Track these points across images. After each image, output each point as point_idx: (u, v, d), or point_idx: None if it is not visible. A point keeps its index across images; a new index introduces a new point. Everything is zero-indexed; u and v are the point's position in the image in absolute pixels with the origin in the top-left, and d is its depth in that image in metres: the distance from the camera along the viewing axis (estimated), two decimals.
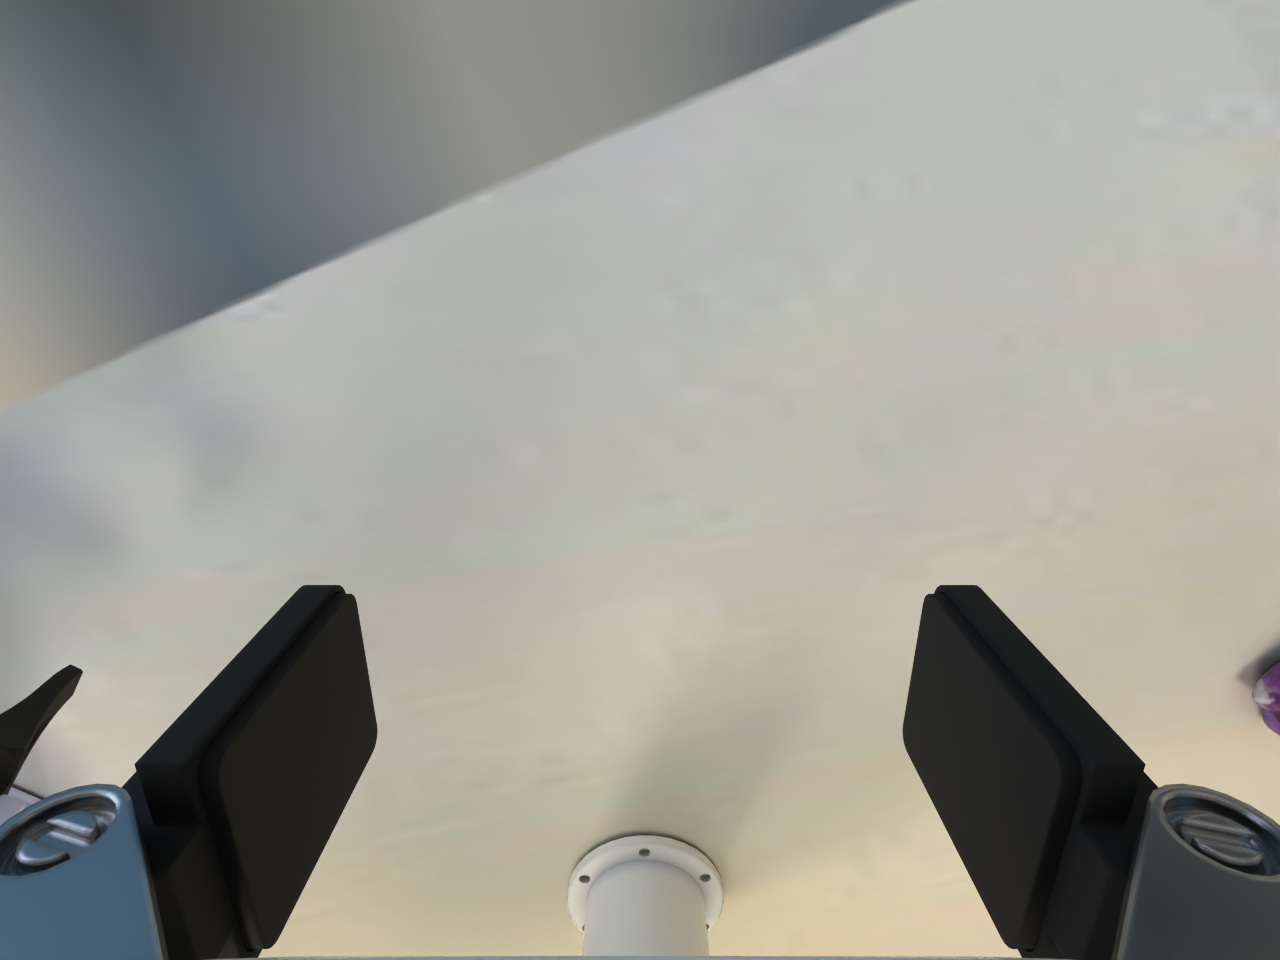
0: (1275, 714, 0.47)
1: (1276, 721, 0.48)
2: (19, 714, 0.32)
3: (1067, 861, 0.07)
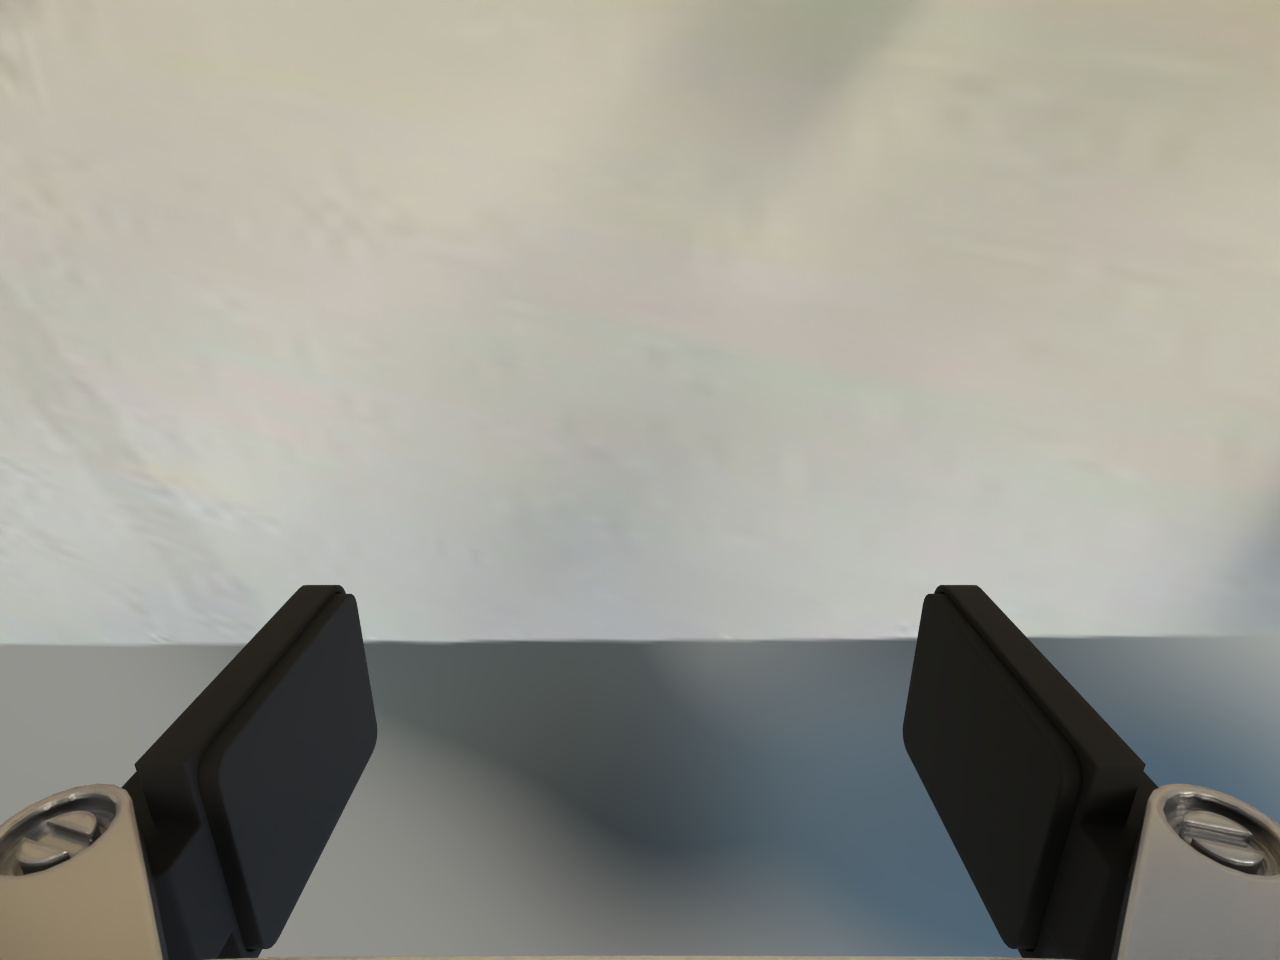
0: None
1: None
2: None
3: (1066, 862, 0.07)
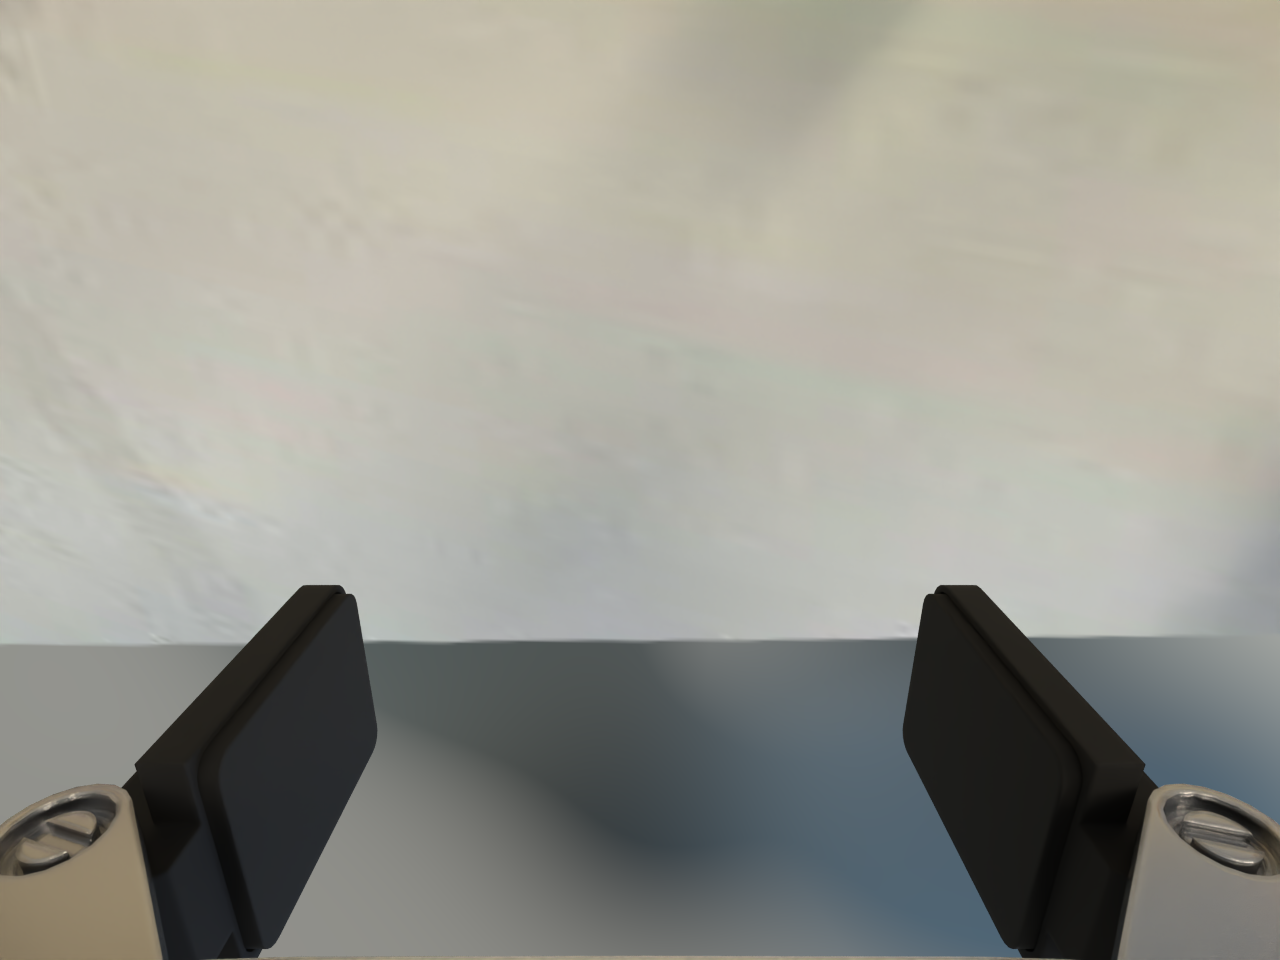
0: None
1: None
2: None
3: (1066, 862, 0.07)
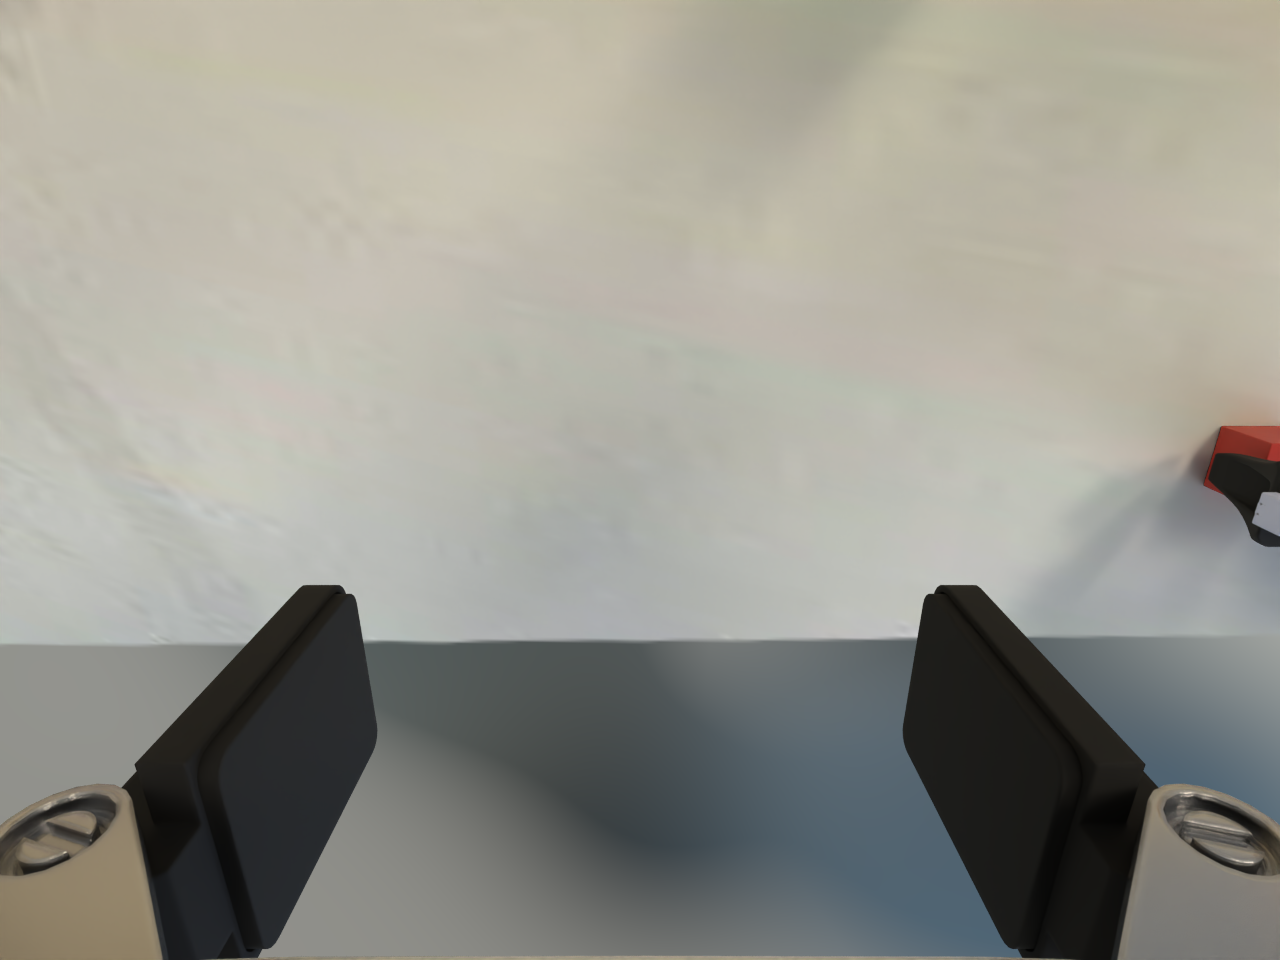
0: None
1: None
2: None
3: (1066, 862, 0.07)
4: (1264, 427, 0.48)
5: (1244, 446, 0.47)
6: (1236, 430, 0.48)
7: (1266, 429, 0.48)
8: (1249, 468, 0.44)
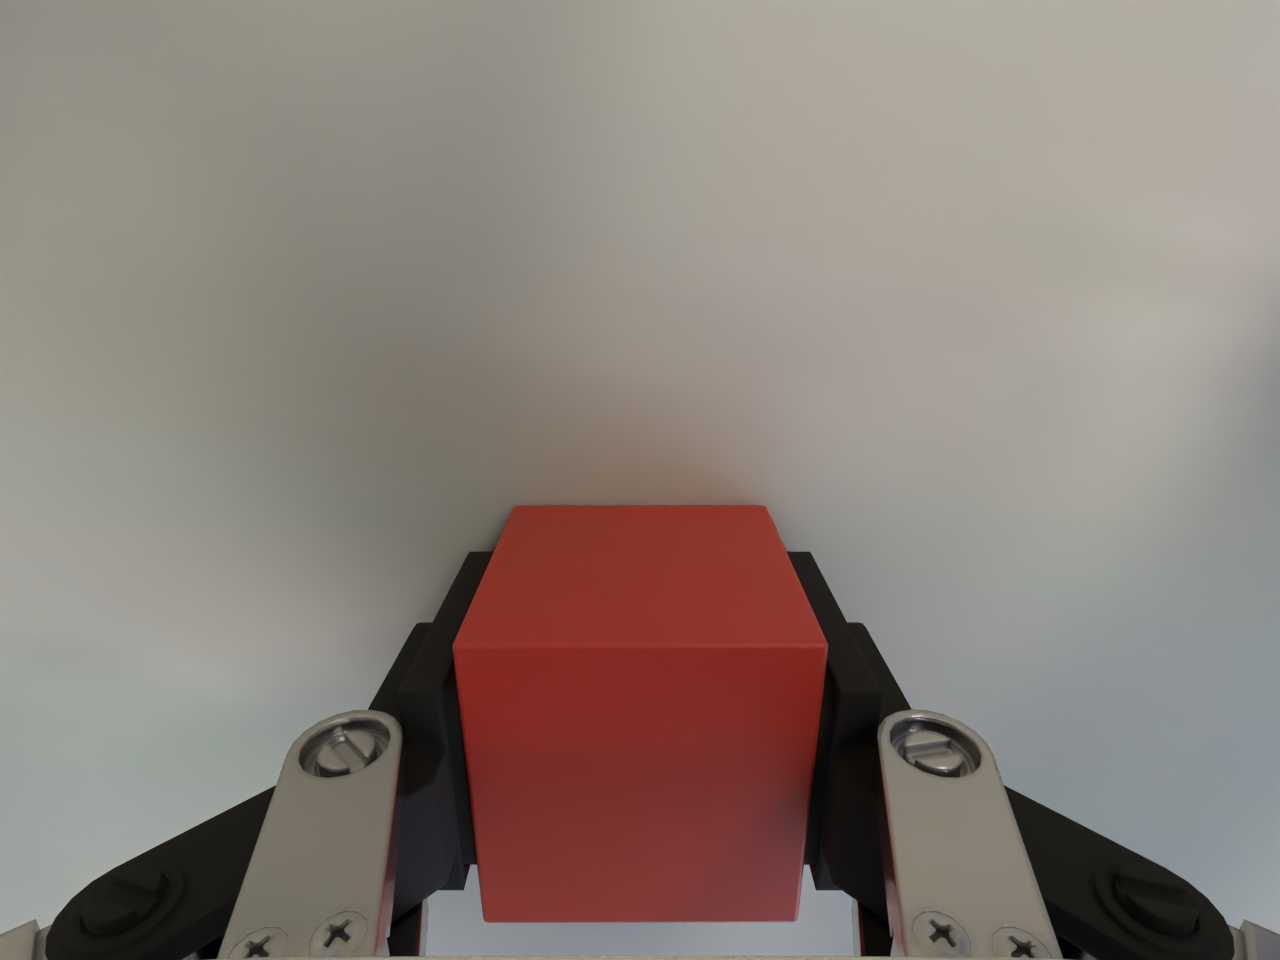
0: None
1: None
2: None
3: (829, 781, 0.09)
4: (670, 514, 0.11)
5: None
6: (511, 532, 0.11)
7: (657, 526, 0.11)
8: None
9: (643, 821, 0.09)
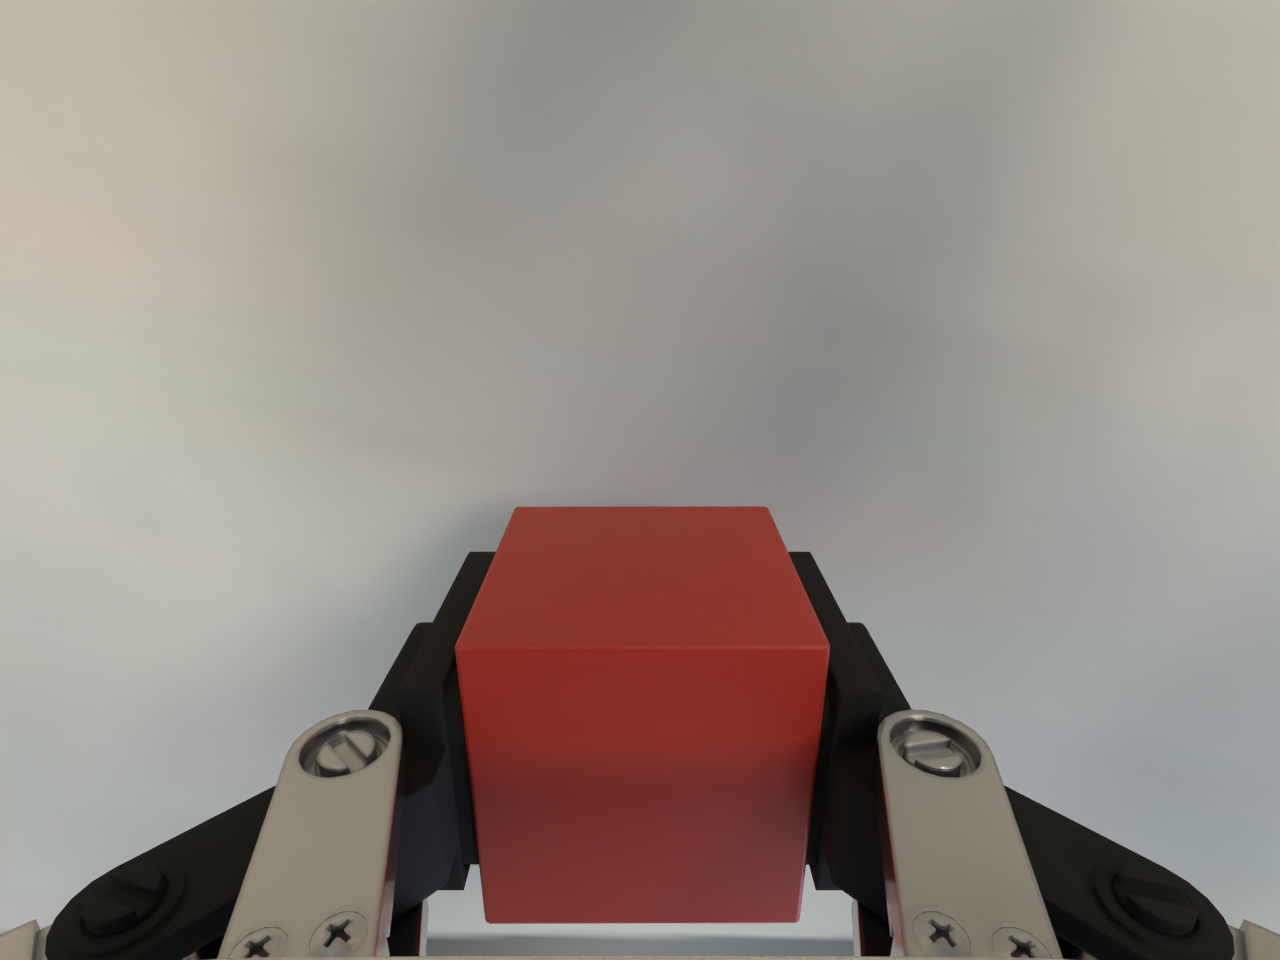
0: None
1: None
2: None
3: (829, 781, 0.09)
4: (671, 515, 0.11)
5: None
6: (513, 533, 0.11)
7: (659, 527, 0.11)
8: None
9: (646, 822, 0.09)
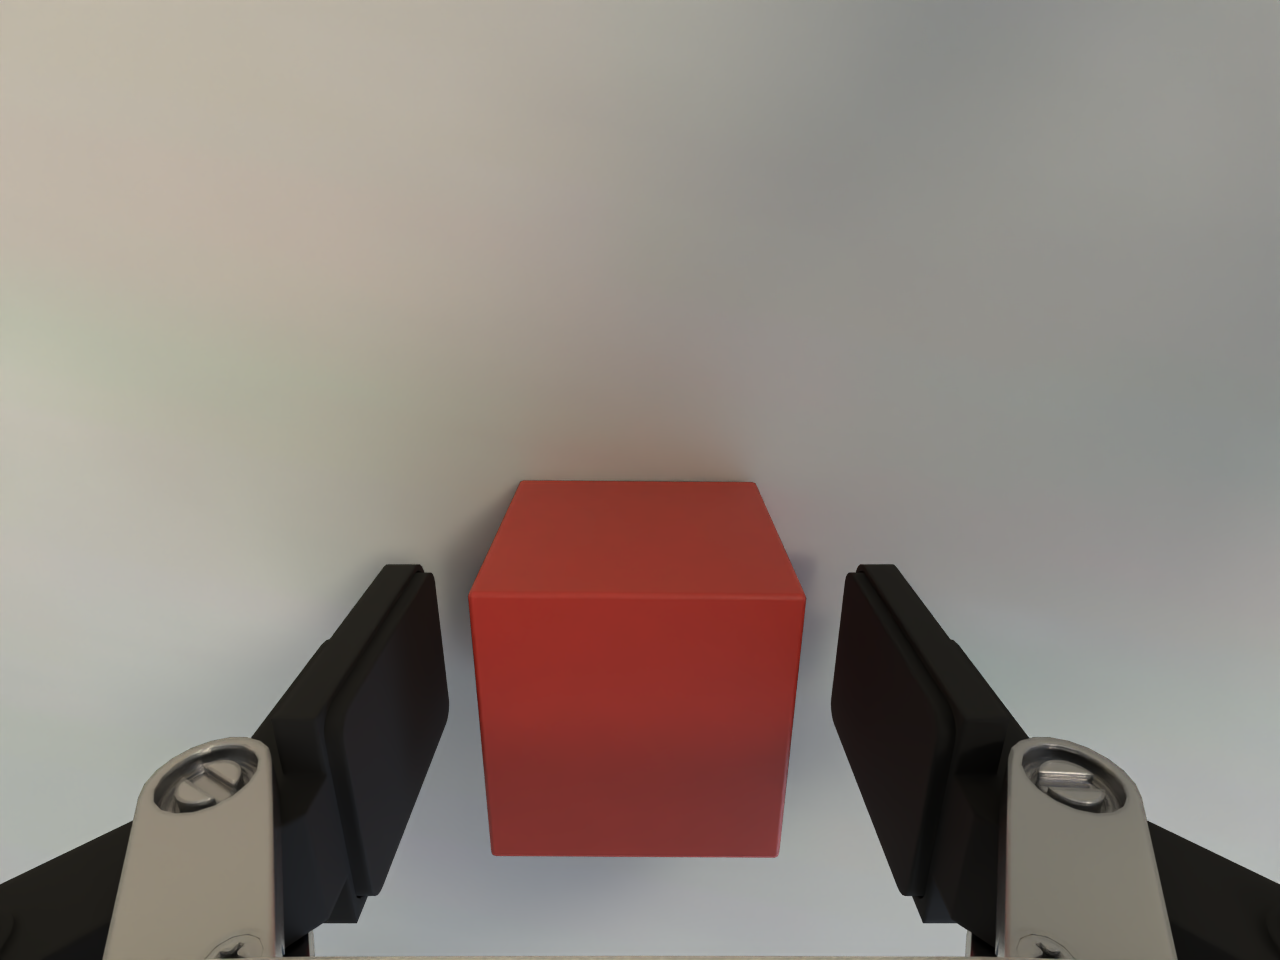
0: None
1: None
2: None
3: (945, 811, 0.08)
4: (666, 488, 0.12)
5: None
6: (519, 503, 0.12)
7: (654, 498, 0.12)
8: None
9: (638, 760, 0.10)
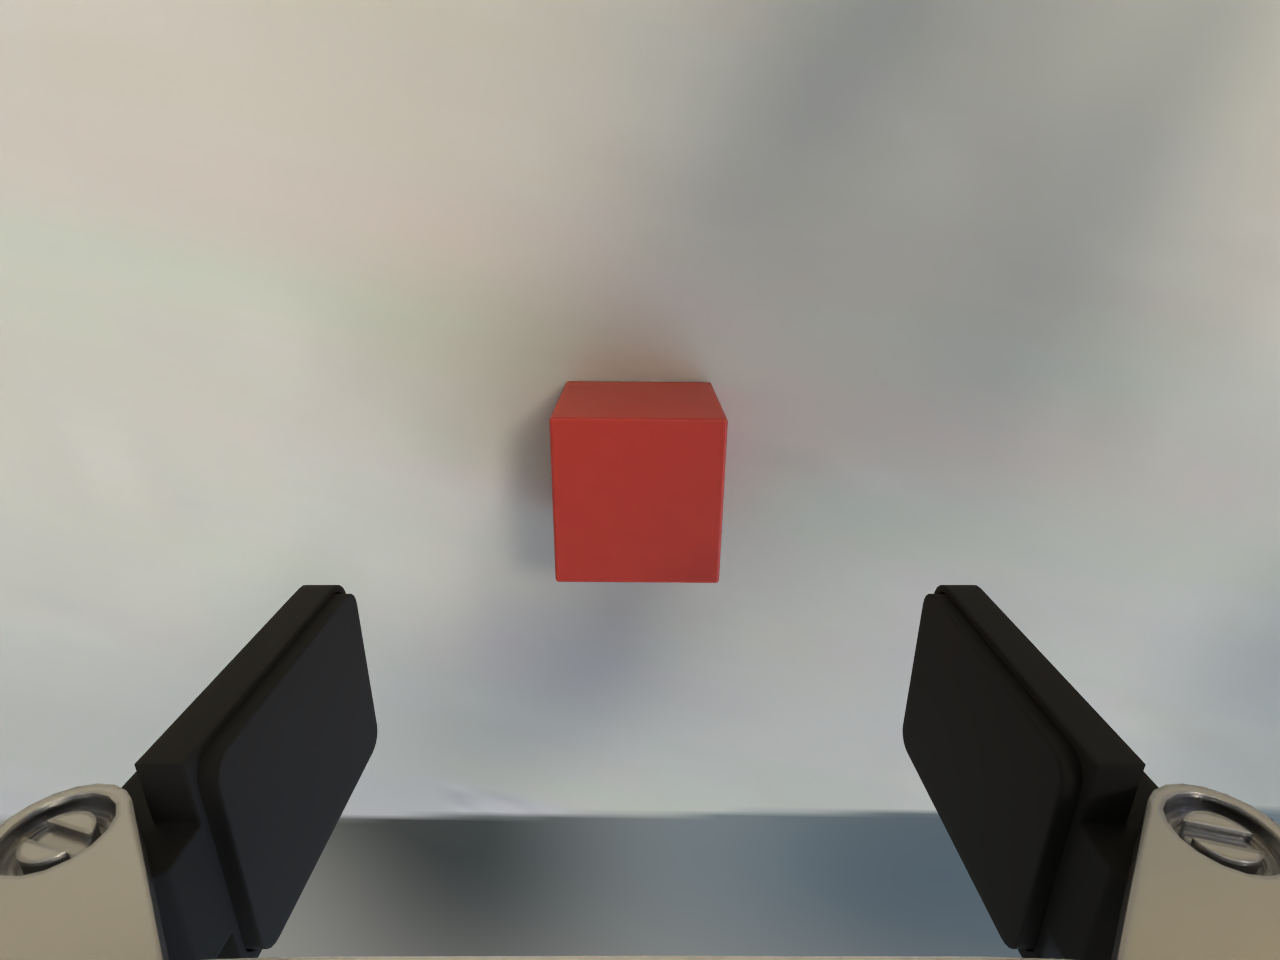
0: None
1: None
2: None
3: (1068, 862, 0.07)
4: (655, 384, 0.20)
5: None
6: (568, 389, 0.20)
7: (648, 388, 0.20)
8: None
9: (639, 519, 0.18)
